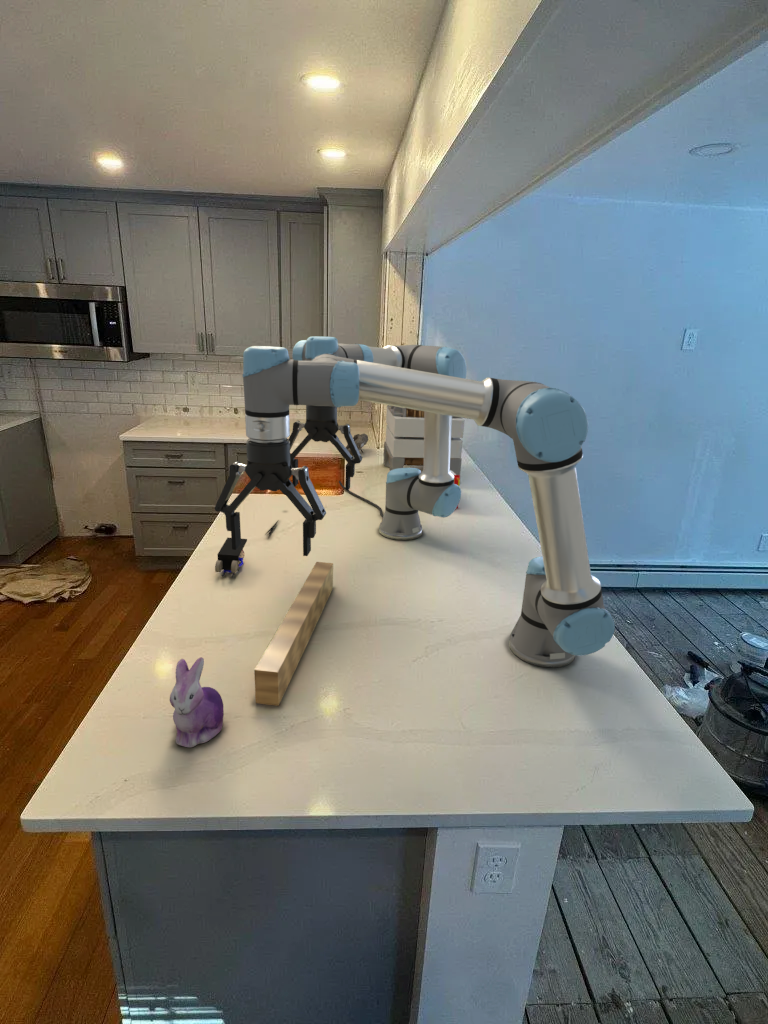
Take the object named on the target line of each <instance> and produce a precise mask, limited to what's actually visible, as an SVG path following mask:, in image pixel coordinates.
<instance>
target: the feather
mask: <svg viewBox="0 0 768 1024" xmlns="http://www.w3.org/2000/svg"><path fill="white" fill-rule="evenodd" d="M278 522H279V520H277V521H276V522H275V523H274V524H273V525H272V526H271V527H270V529H268V531H267V532H266V533H265V535H268V536H267V537H268V539H269V538H270V536H271V534H272V533H273V531H274V529H275V527H276V525H277V524H278Z"/></svg>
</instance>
